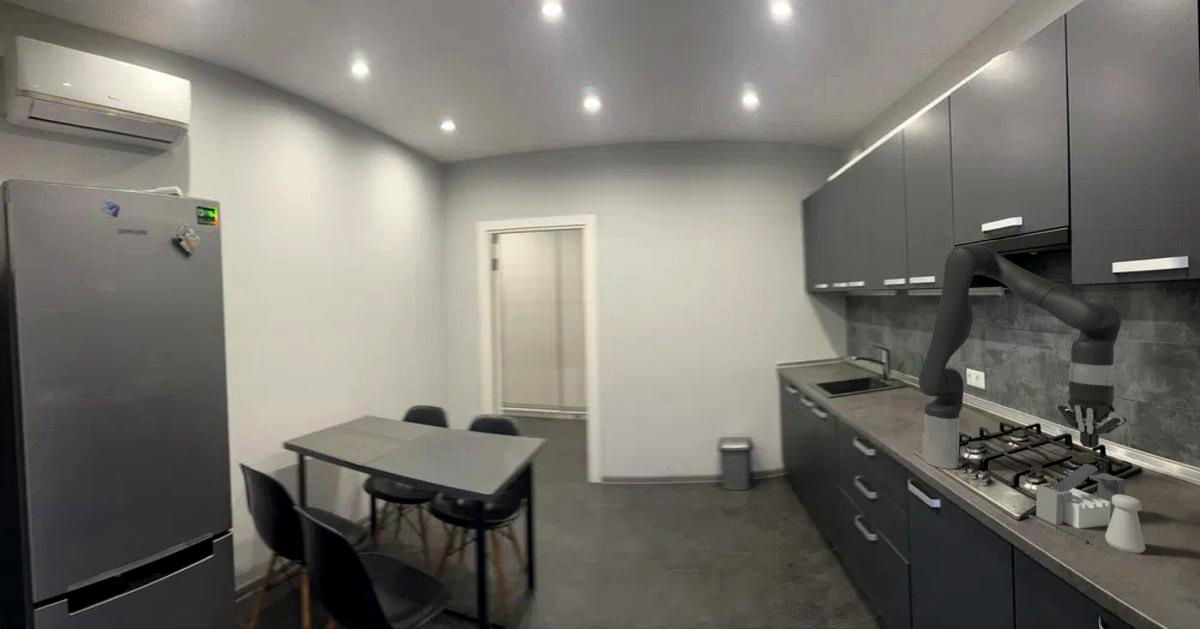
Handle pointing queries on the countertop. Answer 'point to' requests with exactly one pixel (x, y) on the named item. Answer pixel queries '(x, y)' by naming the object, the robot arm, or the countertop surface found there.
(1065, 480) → the strap
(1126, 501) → the salt shaker
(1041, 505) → the heatsink base
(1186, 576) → the countertop surface
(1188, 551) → the countertop surface
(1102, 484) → the block
